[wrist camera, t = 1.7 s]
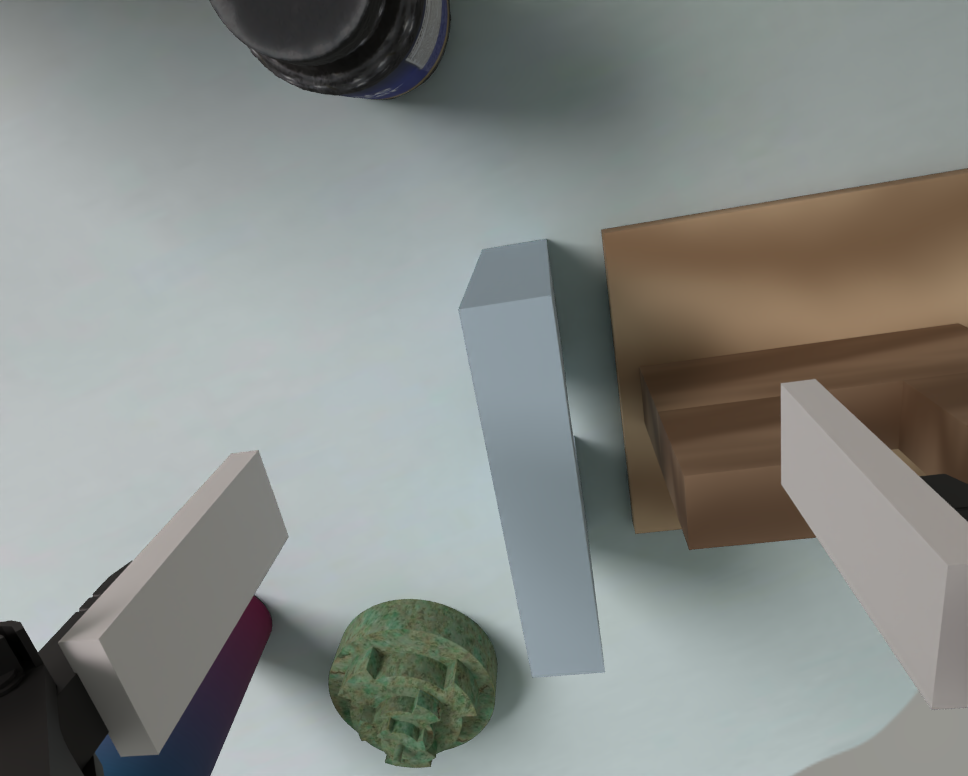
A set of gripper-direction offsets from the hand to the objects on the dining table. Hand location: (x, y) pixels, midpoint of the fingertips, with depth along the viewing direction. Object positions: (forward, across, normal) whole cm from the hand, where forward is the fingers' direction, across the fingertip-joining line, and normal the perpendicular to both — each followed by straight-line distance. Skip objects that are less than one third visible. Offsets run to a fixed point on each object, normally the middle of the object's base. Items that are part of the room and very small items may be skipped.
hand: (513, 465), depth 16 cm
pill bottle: (+16, -4, +13) cm, 21 cm away
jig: (+16, +12, -5) cm, 20 cm away
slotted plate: (+16, 0, -5) cm, 17 cm away
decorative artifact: (+16, -10, -22) cm, 29 cm away
